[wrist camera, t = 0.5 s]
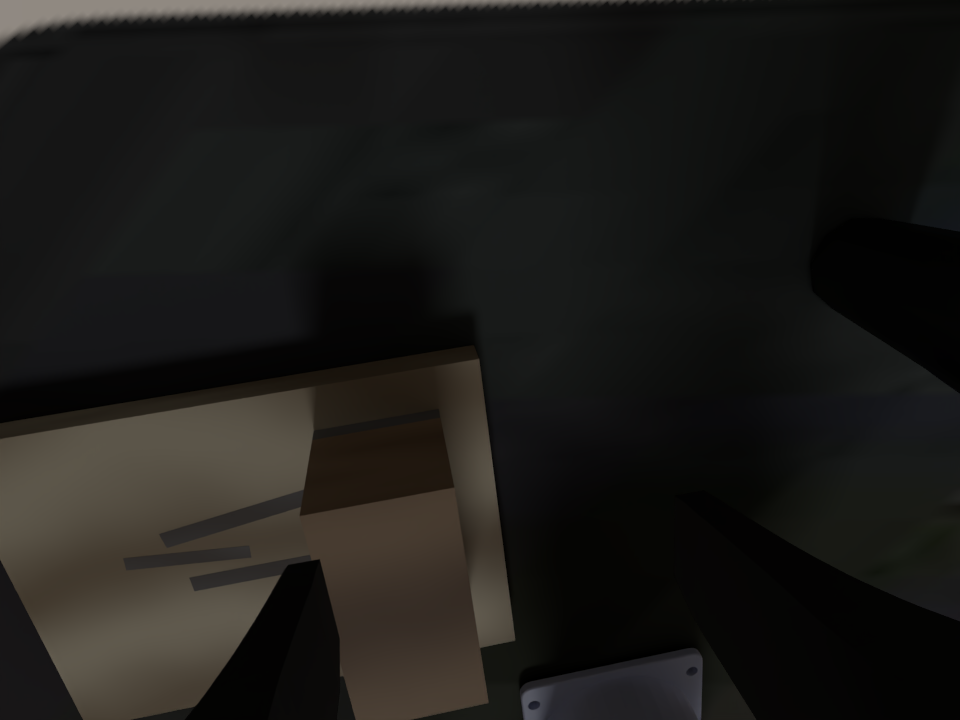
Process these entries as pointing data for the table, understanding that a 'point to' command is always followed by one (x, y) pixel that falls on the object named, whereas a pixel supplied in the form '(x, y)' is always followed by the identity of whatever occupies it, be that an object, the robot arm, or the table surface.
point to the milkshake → (897, 287)
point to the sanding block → (394, 566)
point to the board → (209, 519)
